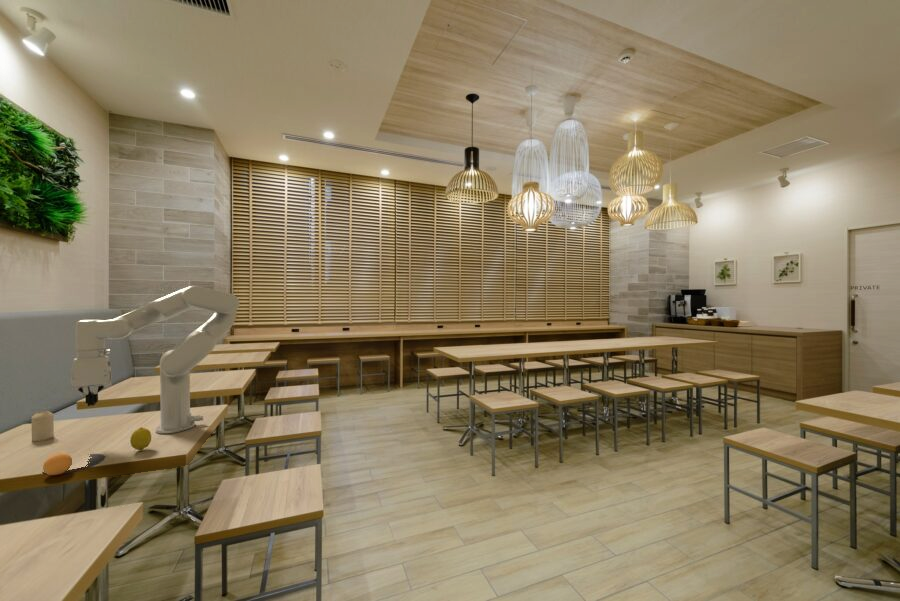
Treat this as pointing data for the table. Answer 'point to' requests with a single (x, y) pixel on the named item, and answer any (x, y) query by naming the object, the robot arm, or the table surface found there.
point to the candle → (42, 426)
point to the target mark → (93, 461)
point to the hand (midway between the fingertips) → (91, 404)
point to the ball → (57, 464)
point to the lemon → (140, 438)
